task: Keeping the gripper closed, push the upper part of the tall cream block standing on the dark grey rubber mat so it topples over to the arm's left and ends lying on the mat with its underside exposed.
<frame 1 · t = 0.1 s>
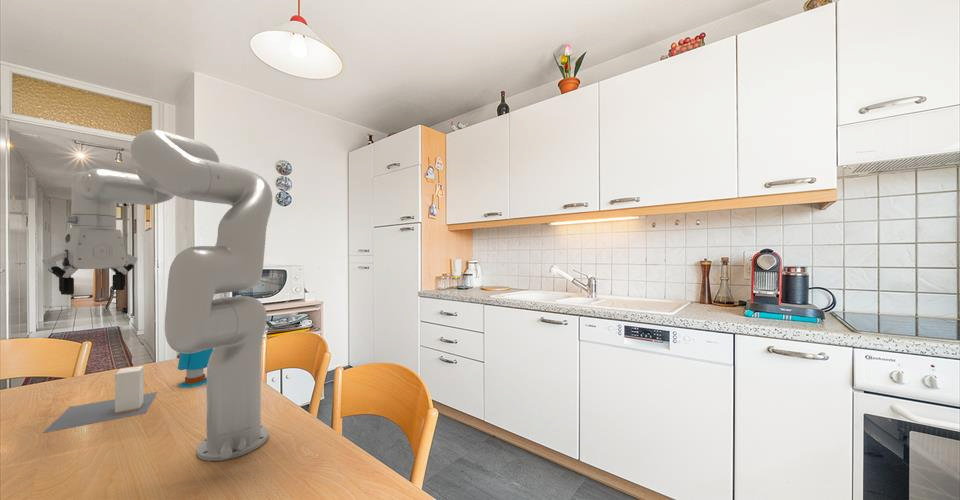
hand: (94, 292, 87), 31 cm above the table, tool pointing down, fingers open, 9 cm apart
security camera: (196, 384, 109), on the table
mat: (107, 411, 90), on the table
block: (129, 408, 91), resting on mat
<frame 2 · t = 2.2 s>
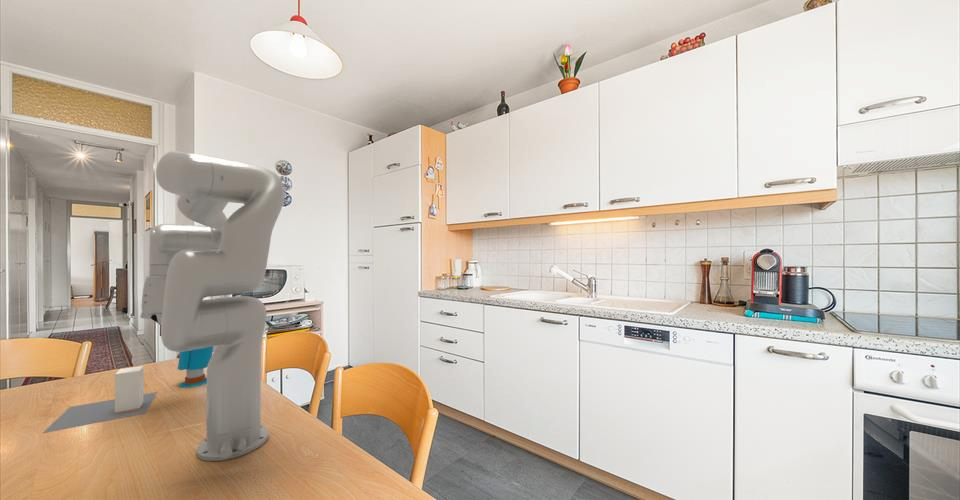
hand: (167, 337, 96), 18 cm above the table, tool pointing down, fingers closed
nothing on the table moved.
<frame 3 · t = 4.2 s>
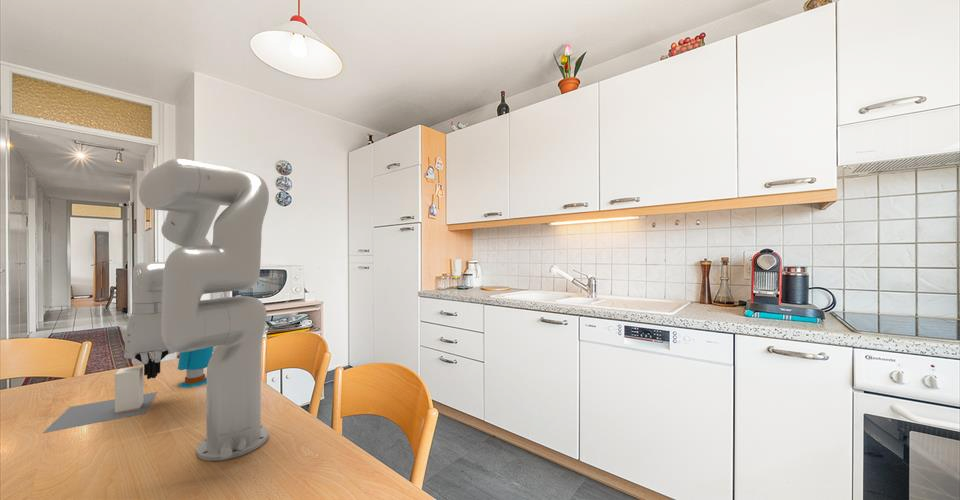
hand: (152, 376, 94), 8 cm above the table, tool pointing down, fingers closed
block: (129, 408, 91), resting on mat, touching gripper
everything else where it was.
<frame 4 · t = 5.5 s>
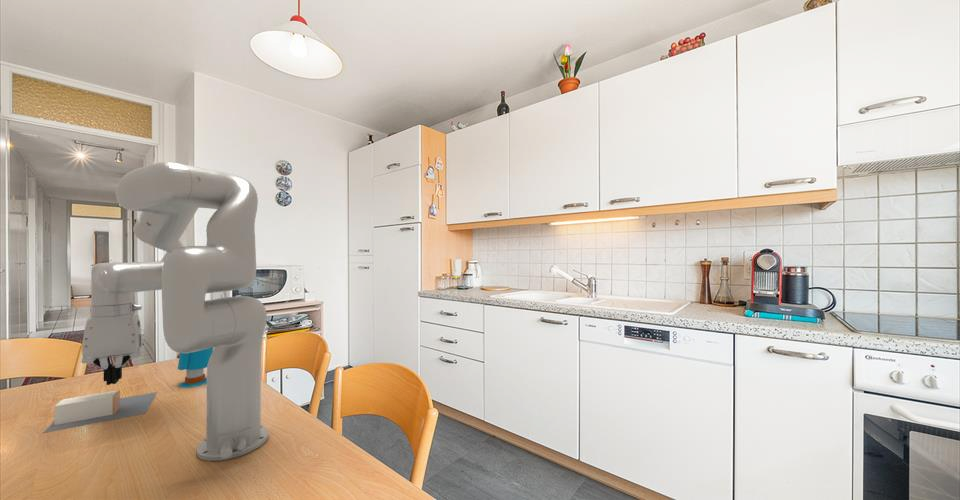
hand: (112, 382, 89), 8 cm above the table, tool pointing down, fingers closed
block: (117, 401, 90), point 3 cm above the table, tilted 90°, touching mat
everything else where it was.
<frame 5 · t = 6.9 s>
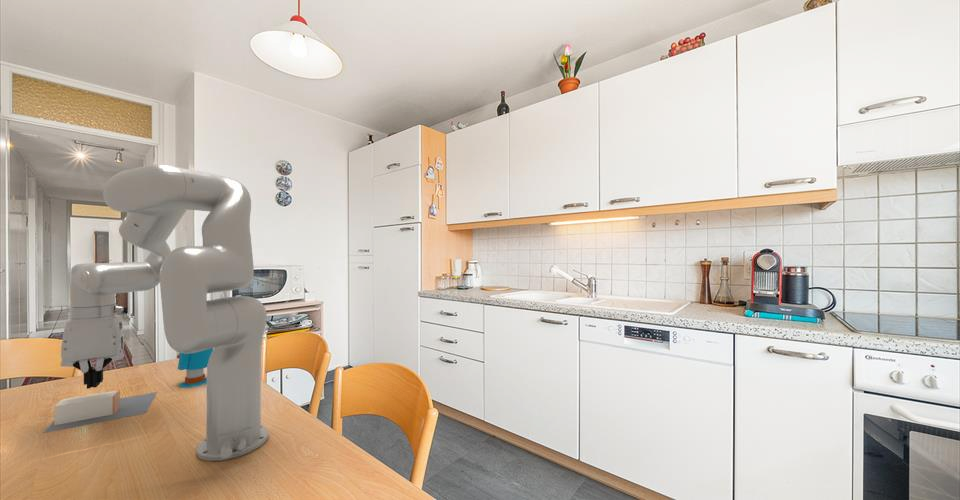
hand: (93, 386, 87), 8 cm above the table, tool pointing down, fingers closed
nothing on the table moved.
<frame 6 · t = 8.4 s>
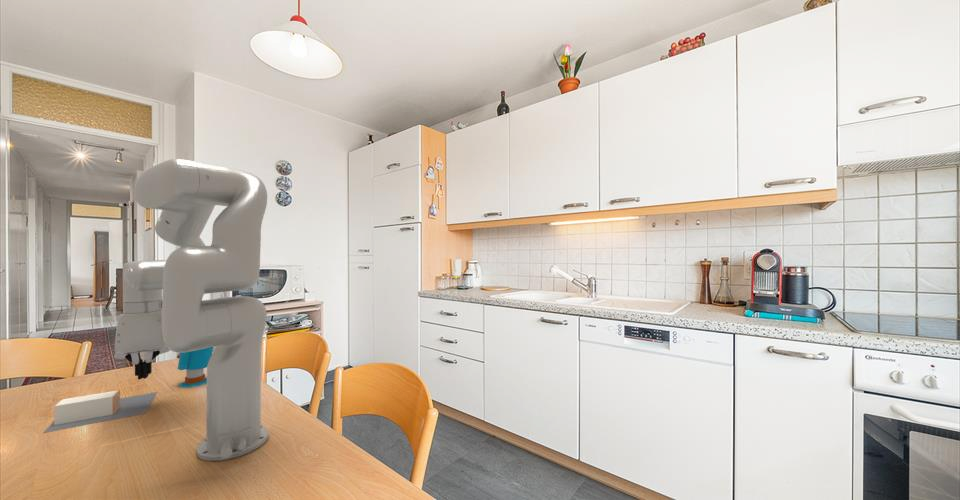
hand: (143, 377, 92), 8 cm above the table, tool pointing down, fingers closed
nothing on the table moved.
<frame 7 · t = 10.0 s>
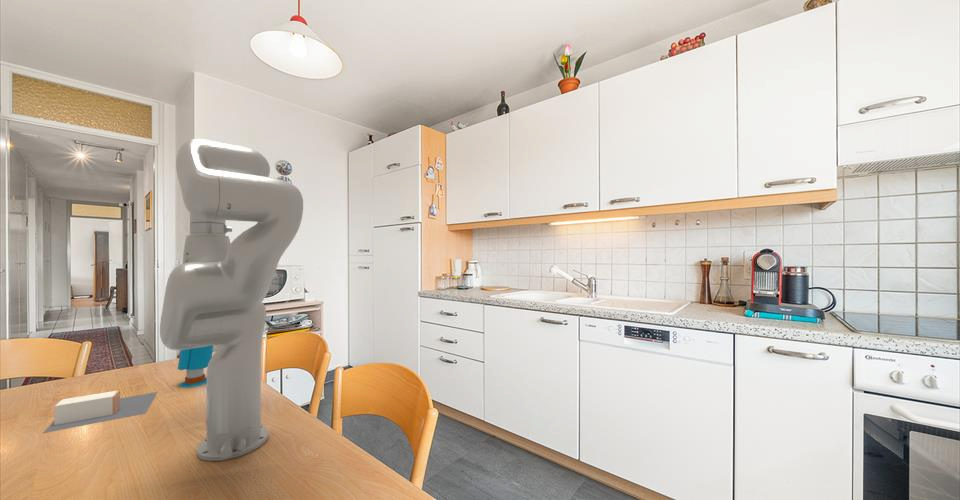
hand: (208, 299, 93), 28 cm above the table, tool pointing down, fingers closed
nothing on the table moved.
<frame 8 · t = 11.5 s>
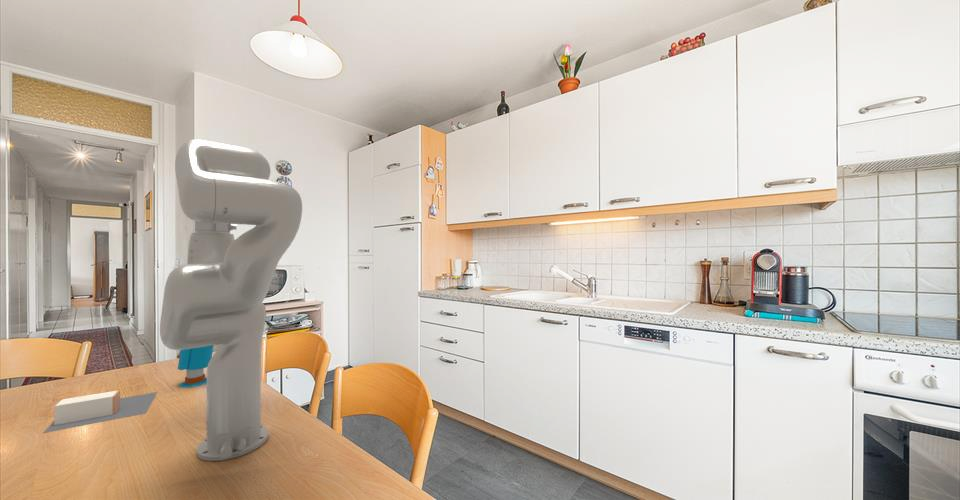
hand: (212, 297, 93), 29 cm above the table, tool pointing down, fingers closed
nothing on the table moved.
at the end: block tilted 90°; block inside the target area (3.0 cm from its centre), point 2.6 cm above the table; block touching mat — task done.
